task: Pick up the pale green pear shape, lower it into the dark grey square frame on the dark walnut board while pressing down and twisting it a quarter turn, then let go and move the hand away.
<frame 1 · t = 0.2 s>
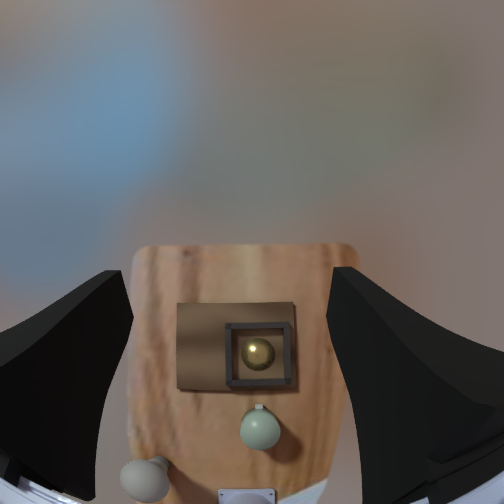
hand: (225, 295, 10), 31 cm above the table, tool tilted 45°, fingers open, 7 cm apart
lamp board: (235, 347, 38), on the table
pale green pear shape: (259, 423, 34), on the table
dark grey square frame: (257, 353, 38), resting on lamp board
lightbulb: (162, 460, 32), on the table
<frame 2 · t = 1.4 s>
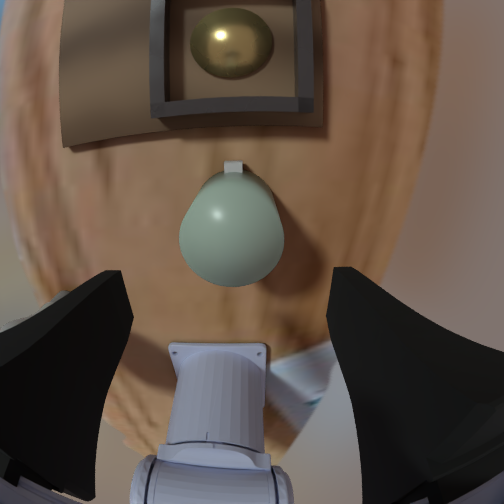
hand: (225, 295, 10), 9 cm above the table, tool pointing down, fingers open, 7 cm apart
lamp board: (178, 33, 13), on the table
pale green pear shape: (235, 207, 18), on the table
dark grey square frame: (231, 44, 13), resting on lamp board
lightbulb: (74, 296, 21), on the table
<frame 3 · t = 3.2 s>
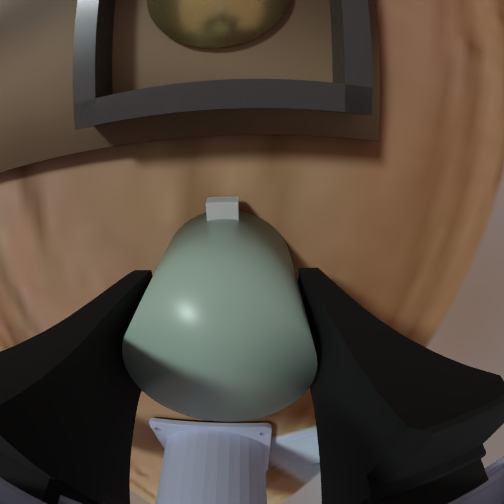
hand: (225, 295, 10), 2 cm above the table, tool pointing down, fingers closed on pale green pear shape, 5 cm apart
pale green pear shape: (228, 270, 11), on the table, touching gripper
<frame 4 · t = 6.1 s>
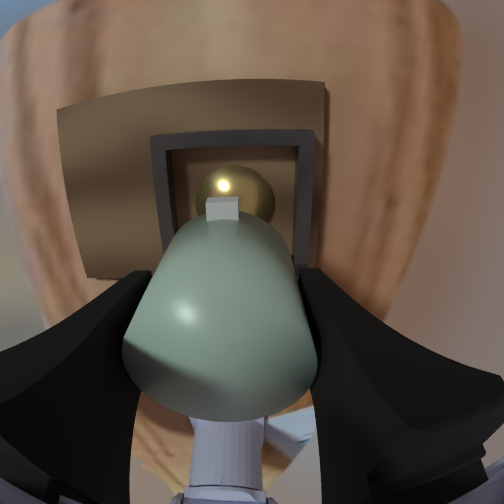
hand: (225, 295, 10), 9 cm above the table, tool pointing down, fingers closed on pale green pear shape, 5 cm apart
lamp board: (183, 185, 17), on the table
pale green pear shape: (227, 270, 11), point 7 cm above the table, touching gripper
dark grey square frame: (234, 199, 17), resting on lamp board
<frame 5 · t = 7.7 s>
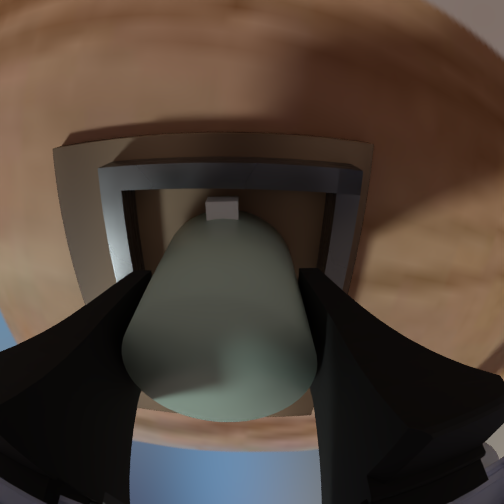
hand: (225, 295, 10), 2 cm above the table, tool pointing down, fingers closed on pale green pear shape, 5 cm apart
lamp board: (208, 316, 13), on the table
pale green pear shape: (227, 270, 11), point 1 cm above the table, touching gripper
dark grey square frame: (229, 259, 12), resting on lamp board
when the fingers open (2 cm above the table, at t = 9.0 s): pale green pear shape stays where it is, resting on dark grey square frame.
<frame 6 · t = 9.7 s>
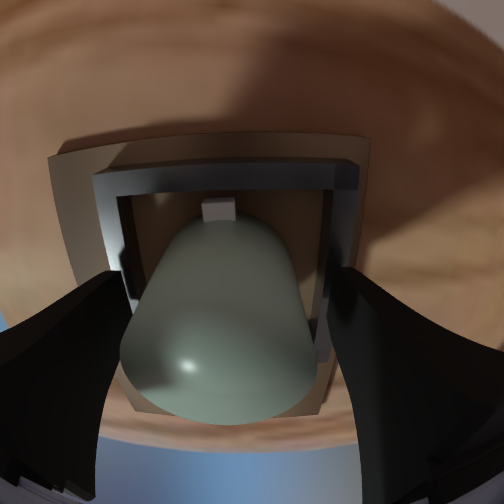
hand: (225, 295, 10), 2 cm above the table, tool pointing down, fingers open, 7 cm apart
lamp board: (210, 319, 13), on the table
pale green pear shape: (227, 271, 11), point 1 cm above the table, touching dark grey square frame
dark grey square frame: (229, 261, 12), resting on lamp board
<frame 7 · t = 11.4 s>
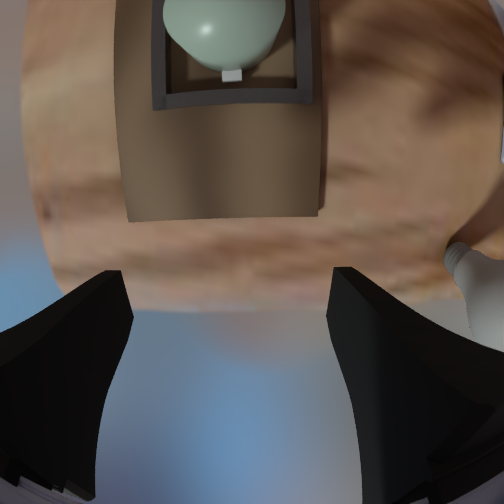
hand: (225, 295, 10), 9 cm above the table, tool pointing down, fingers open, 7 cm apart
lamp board: (214, 85, 15), on the table
pale green pear shape: (230, 34, 12), point 1 cm above the table, touching dark grey square frame
dark grey square frame: (231, 38, 13), resting on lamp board
lightbulb: (448, 250, 20), on the table
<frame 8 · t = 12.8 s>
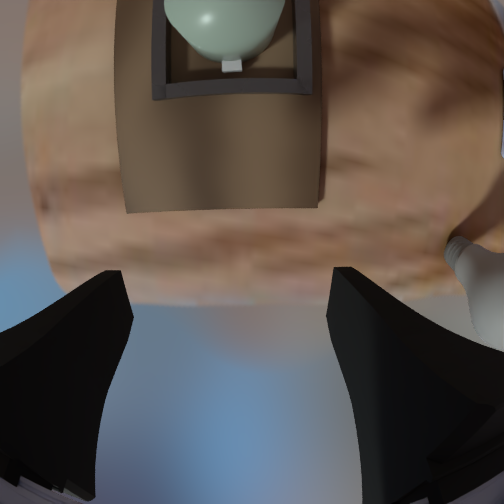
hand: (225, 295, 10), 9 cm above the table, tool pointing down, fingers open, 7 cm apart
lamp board: (214, 76, 14), on the table
pale green pear shape: (230, 26, 12), point 1 cm above the table, touching dark grey square frame
dark grey square frame: (231, 30, 13), resting on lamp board
lightbulb: (449, 244, 20), on the table
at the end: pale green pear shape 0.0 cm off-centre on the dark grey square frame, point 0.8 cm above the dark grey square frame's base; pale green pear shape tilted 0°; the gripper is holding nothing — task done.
